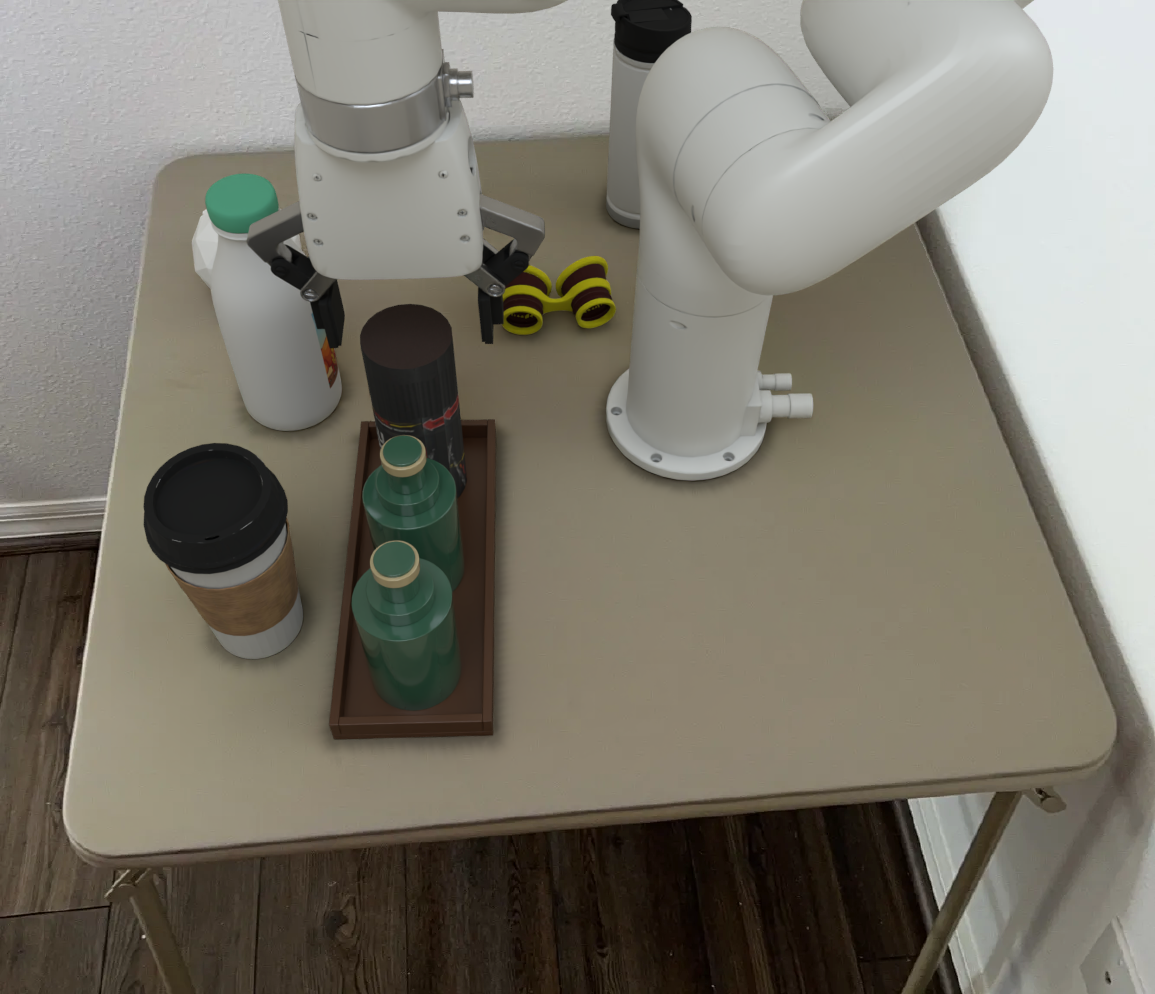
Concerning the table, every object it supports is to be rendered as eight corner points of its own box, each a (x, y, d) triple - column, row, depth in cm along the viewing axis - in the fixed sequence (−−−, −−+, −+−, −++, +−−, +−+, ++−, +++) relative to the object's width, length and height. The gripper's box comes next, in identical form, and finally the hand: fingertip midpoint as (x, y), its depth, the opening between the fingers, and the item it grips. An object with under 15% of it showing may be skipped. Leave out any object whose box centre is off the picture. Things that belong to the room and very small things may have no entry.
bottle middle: (465, 533, 82) (452, 412, 71) (463, 604, 78) (449, 487, 67) (382, 534, 81) (356, 413, 71) (376, 606, 78) (348, 489, 67)
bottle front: (462, 629, 77) (448, 514, 66) (460, 709, 73) (444, 602, 63) (374, 631, 77) (345, 516, 66) (367, 712, 73) (336, 604, 62)
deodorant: (483, 479, 85) (471, 336, 73) (423, 525, 82) (400, 383, 70) (431, 436, 87) (411, 290, 75) (370, 479, 84) (340, 335, 72)
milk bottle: (324, 441, 87) (274, 238, 71) (230, 425, 88) (159, 221, 72) (356, 370, 92) (315, 164, 76) (266, 355, 93) (206, 149, 77)
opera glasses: (501, 345, 95) (501, 310, 91) (494, 293, 97) (493, 257, 93) (615, 333, 96) (620, 298, 92) (605, 283, 98) (609, 246, 94)
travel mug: (593, 194, 106) (600, -11, 90) (659, 181, 107) (678, -22, 91) (614, 236, 102) (626, 31, 86) (683, 223, 104) (706, 18, 88)
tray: (496, 436, 88) (495, 418, 86) (493, 735, 73) (491, 721, 71) (364, 438, 88) (360, 420, 86) (333, 739, 72) (328, 725, 71)
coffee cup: (203, 690, 74) (135, 563, 62) (192, 585, 79) (127, 449, 67) (330, 659, 76) (288, 530, 64) (312, 558, 81) (270, 421, 69)
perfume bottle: (338, 285, 95) (286, 221, 102) (282, 206, 88) (230, 143, 95) (253, 346, 94) (207, 276, 102) (190, 271, 87) (144, 202, 94)
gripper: (539, 50, 61) (546, 287, 75) (217, 57, 61) (284, 293, 74) (541, 135, 57) (549, 370, 70) (194, 143, 56) (270, 377, 70)
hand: (413, 330), depth 72 cm, fingers open, 9 cm apart
